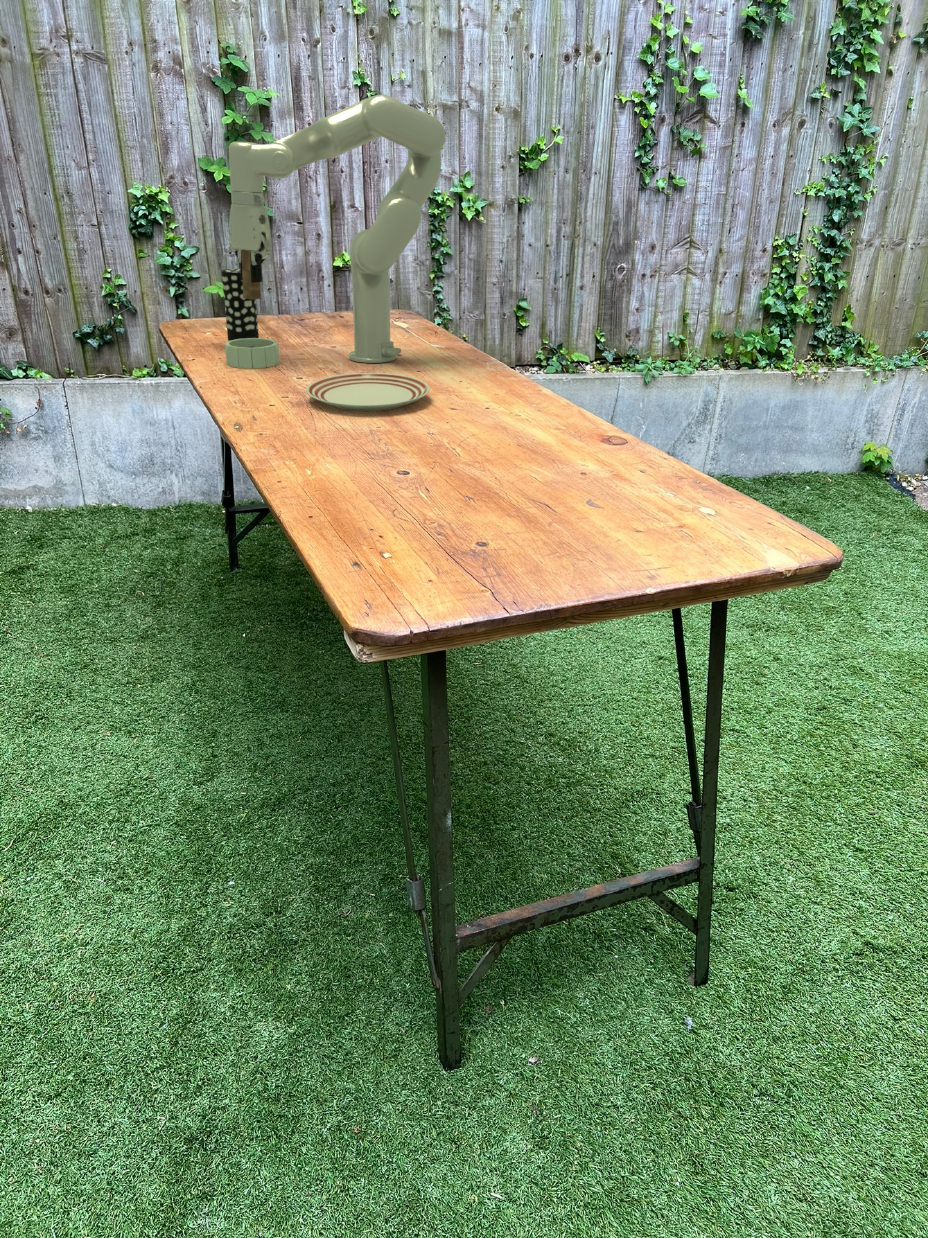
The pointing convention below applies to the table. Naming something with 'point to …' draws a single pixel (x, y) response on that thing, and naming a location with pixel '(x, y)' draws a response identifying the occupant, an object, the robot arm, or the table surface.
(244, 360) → the green faceted socket ring
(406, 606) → the table surface
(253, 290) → the wooden rectangular post
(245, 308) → the white-spotted black cylinder
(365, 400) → the dinner plate
